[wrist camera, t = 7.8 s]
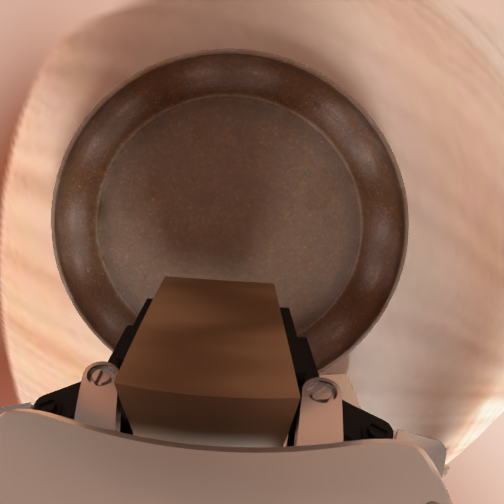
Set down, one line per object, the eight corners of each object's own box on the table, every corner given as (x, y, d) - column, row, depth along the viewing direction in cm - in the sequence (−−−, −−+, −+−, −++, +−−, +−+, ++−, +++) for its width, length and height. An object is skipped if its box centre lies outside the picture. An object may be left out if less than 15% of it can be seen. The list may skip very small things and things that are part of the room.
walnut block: (273, 283, 12) (300, 397, 6) (262, 363, 13) (273, 470, 8) (165, 276, 11) (113, 382, 6) (171, 357, 13) (146, 460, 7)
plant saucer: (36, 236, 14) (8, 253, 11) (232, 9, 10) (231, -19, 7) (227, 395, 19) (226, 427, 16) (426, 242, 15) (454, 260, 12)
